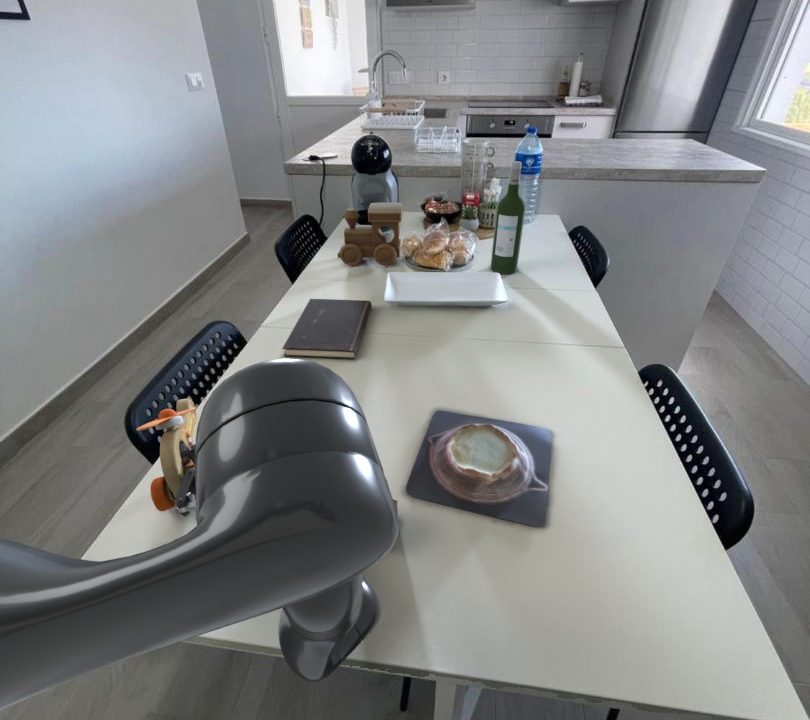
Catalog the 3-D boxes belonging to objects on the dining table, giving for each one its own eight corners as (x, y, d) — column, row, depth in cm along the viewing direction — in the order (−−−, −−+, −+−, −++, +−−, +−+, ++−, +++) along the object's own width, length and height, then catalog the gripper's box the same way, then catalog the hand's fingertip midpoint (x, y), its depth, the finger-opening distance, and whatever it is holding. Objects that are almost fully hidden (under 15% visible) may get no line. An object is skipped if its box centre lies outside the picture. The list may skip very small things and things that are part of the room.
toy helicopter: (160, 524, 63) (115, 452, 56) (175, 437, 80) (142, 374, 73) (219, 504, 65) (183, 432, 58) (222, 423, 82) (194, 360, 75)
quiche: (551, 431, 78) (555, 414, 76) (545, 530, 62) (549, 512, 60) (435, 409, 83) (436, 392, 81) (402, 495, 68) (402, 477, 65)
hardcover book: (284, 356, 98) (282, 347, 97) (311, 306, 117) (310, 298, 116) (355, 359, 97) (354, 350, 96) (371, 308, 116) (371, 300, 114)
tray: (507, 312, 113) (508, 300, 111) (383, 311, 114) (382, 299, 112) (498, 283, 126) (499, 271, 124) (387, 282, 128) (387, 271, 126)
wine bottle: (515, 263, 137) (529, 158, 120) (518, 274, 131) (534, 165, 113) (489, 263, 138) (500, 158, 120) (491, 274, 131) (502, 165, 114)
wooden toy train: (404, 253, 146) (403, 201, 136) (402, 267, 136) (401, 212, 127) (343, 253, 146) (337, 201, 137) (337, 267, 137) (331, 212, 127)
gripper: (294, 473, 58) (231, 408, 68) (193, 538, 50) (140, 454, 60) (302, 508, 62) (242, 442, 72) (211, 573, 55) (158, 489, 65)
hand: (196, 448), depth 66 cm, fingers closed
